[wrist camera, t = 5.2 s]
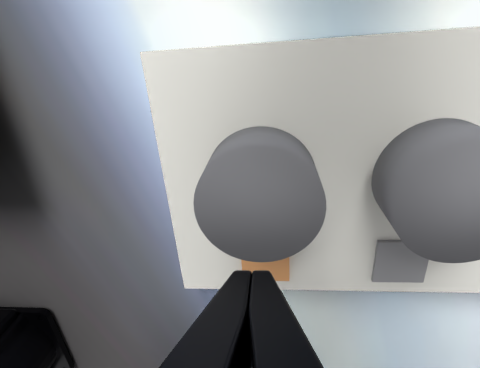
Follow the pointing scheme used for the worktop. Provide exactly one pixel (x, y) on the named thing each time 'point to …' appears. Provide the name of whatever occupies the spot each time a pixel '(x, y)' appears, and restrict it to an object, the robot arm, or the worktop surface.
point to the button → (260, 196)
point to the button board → (315, 143)
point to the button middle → (433, 189)
